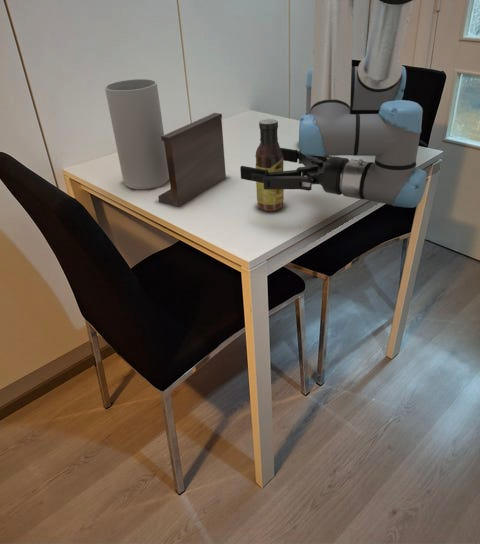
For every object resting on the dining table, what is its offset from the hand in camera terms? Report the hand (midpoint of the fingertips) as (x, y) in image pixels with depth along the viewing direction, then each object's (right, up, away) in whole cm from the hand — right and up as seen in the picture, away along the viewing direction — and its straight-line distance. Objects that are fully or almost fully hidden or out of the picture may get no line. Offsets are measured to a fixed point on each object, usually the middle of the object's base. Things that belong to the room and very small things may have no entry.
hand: (257, 161), depth 110 cm
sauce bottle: (+3, -10, +4) cm, 11 cm away
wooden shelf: (-16, -4, +15) cm, 22 cm away
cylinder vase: (-29, 0, +22) cm, 36 cm away
